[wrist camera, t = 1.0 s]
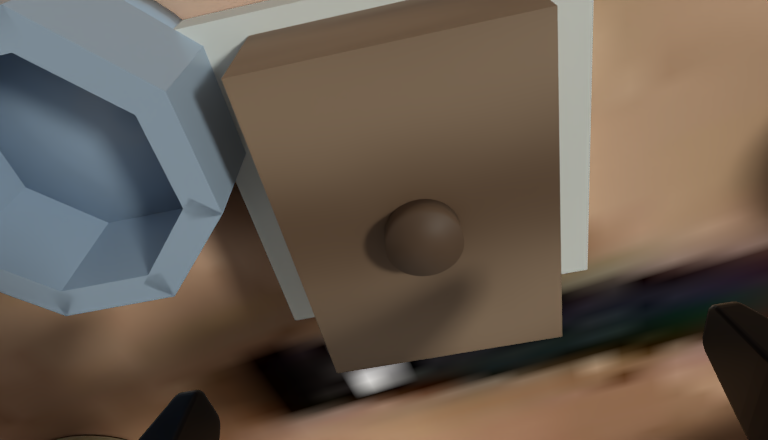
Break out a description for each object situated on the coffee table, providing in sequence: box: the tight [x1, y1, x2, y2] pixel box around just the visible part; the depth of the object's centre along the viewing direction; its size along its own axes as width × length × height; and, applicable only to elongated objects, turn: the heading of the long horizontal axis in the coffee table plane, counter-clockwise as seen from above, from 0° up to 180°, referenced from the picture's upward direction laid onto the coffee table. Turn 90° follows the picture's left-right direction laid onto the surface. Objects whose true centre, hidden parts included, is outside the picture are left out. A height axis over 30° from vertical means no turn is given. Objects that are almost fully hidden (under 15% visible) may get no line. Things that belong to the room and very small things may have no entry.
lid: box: [221, 0, 562, 373], centre depth 13 cm, size 9×6×4 cm
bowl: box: [0, 0, 246, 316], centre depth 13 cm, size 7×7×4 cm
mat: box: [174, 0, 594, 320], centre depth 15 cm, size 10×10×1 cm
